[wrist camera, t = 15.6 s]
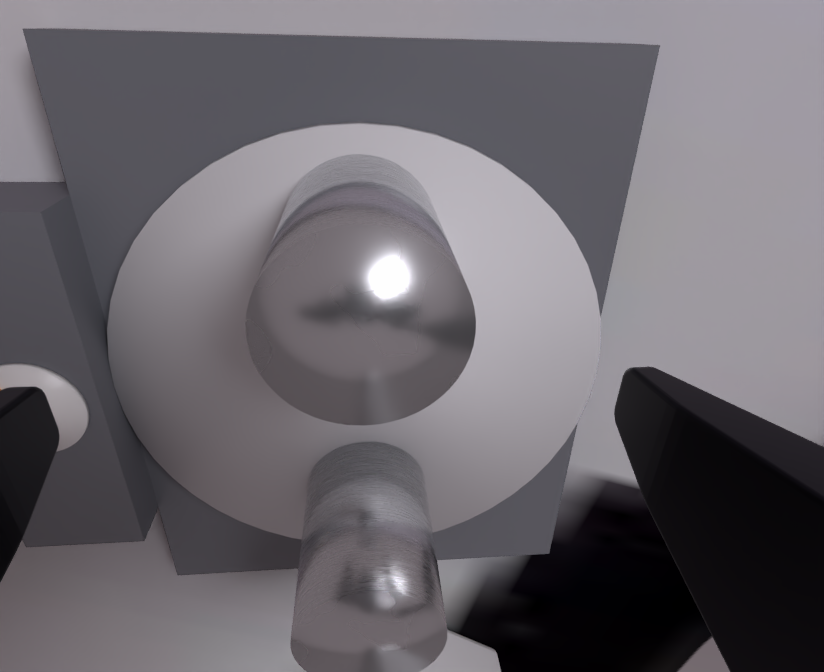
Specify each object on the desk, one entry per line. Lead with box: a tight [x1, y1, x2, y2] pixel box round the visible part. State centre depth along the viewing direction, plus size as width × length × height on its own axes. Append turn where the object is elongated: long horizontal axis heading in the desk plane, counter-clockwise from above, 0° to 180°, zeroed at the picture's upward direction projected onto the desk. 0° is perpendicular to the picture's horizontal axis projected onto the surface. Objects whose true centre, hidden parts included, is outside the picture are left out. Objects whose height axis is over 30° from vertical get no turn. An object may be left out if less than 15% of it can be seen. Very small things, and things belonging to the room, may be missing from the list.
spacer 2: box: [291, 442, 447, 672], centre depth 18 cm, size 4×4×6 cm
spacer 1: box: [245, 154, 476, 426], centre depth 13 cm, size 4×4×6 cm
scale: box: [0, 29, 660, 575], centre depth 18 cm, size 20×20×3 cm
